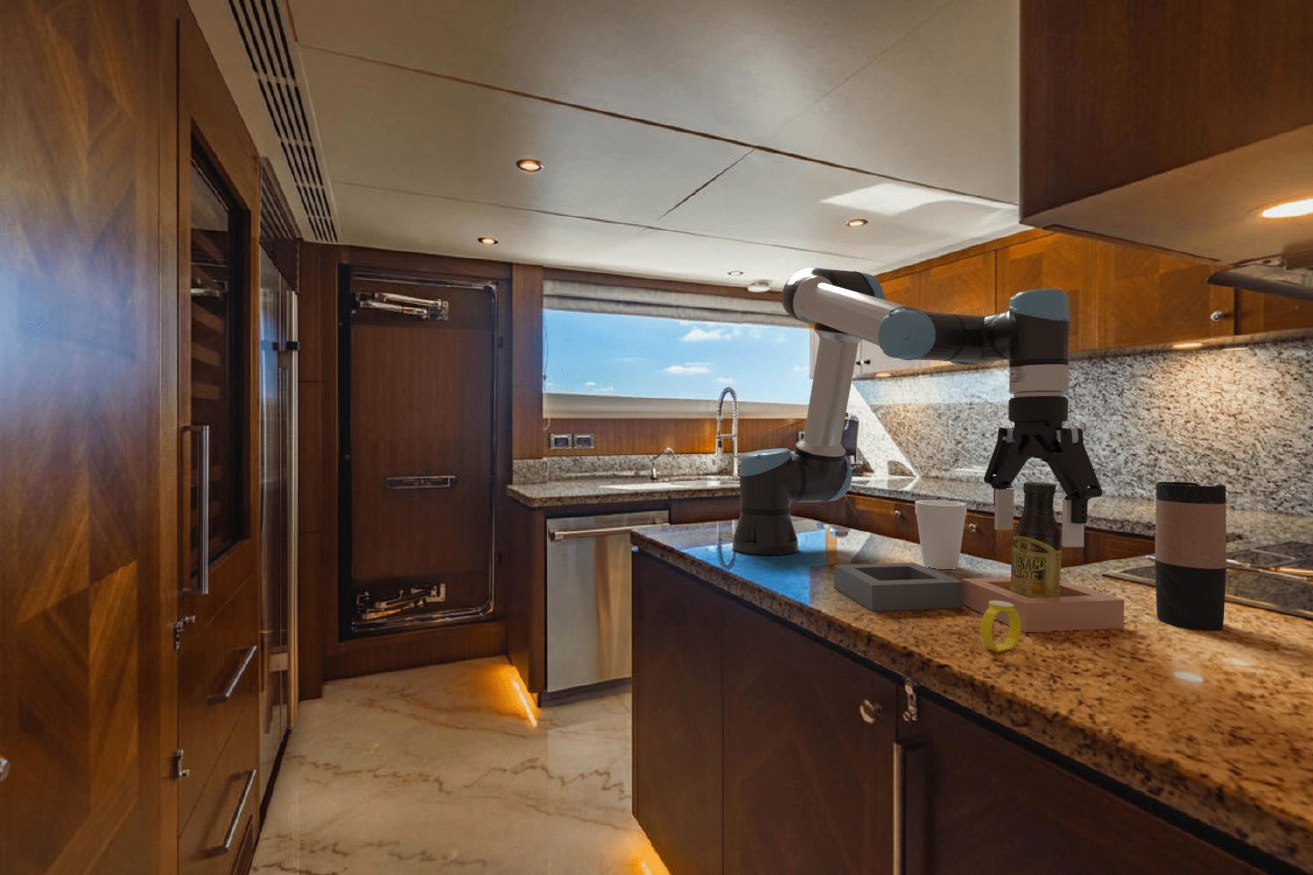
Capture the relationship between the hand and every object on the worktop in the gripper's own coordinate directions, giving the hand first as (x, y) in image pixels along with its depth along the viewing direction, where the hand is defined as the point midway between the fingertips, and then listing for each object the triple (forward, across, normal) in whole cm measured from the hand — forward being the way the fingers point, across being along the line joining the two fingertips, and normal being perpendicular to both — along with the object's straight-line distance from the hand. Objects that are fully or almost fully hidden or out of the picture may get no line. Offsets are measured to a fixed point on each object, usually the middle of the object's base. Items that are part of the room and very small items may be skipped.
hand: (1035, 537), depth 89 cm
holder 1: (+12, -12, -16) cm, 23 cm away
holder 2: (+12, 0, 0) cm, 12 cm away
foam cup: (+12, -32, +5) cm, 34 cm away
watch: (+12, +12, -15) cm, 23 cm away
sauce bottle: (+12, 0, 0) cm, 12 cm away
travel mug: (+12, +6, +19) cm, 23 cm away
